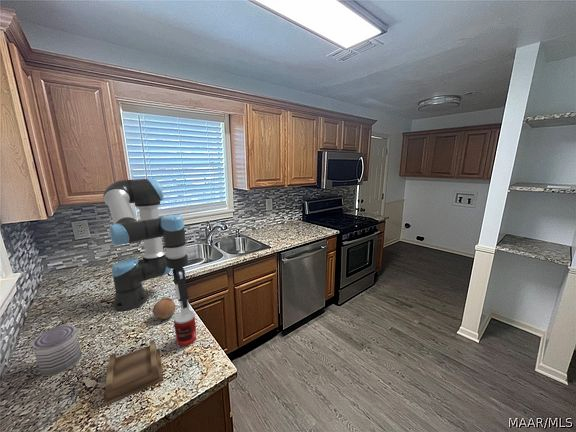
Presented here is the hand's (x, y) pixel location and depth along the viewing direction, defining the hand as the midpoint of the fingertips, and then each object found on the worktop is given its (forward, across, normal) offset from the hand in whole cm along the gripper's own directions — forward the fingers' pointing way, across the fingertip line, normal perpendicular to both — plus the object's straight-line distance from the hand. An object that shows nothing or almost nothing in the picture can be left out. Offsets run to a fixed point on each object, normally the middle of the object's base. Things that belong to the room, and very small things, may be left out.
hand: (182, 305), depth 93 cm
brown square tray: (+16, +8, -18) cm, 25 cm away
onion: (+16, -22, -6) cm, 28 cm away
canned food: (+16, 0, 0) cm, 16 cm away
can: (+16, -13, -41) cm, 46 cm away
